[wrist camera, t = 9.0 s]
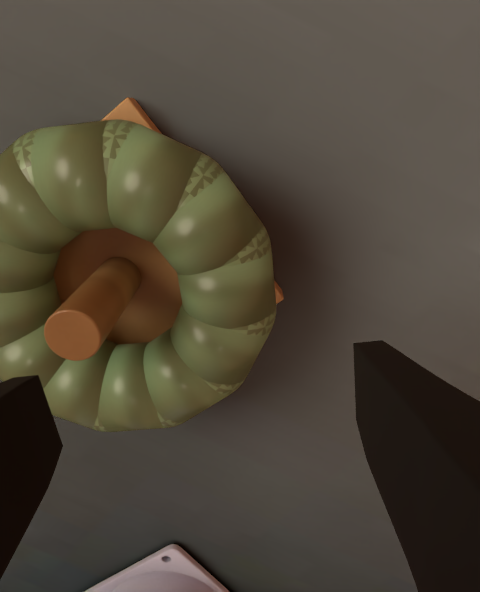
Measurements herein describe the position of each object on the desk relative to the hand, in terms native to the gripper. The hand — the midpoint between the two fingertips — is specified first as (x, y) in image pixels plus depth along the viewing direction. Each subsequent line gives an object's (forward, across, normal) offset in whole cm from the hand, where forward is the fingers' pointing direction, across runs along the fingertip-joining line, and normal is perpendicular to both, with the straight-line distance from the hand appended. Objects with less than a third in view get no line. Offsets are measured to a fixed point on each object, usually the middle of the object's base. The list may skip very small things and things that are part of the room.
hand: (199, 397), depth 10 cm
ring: (+7, +4, 0) cm, 8 cm away
